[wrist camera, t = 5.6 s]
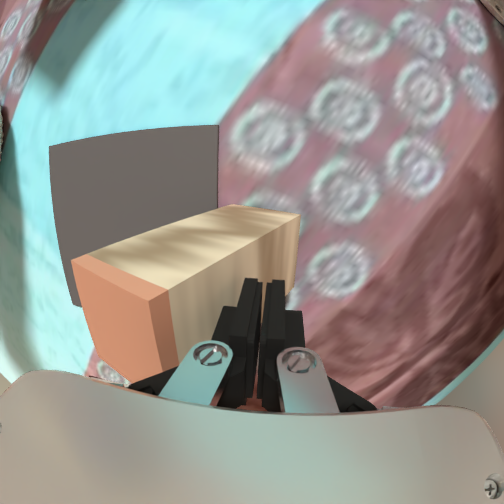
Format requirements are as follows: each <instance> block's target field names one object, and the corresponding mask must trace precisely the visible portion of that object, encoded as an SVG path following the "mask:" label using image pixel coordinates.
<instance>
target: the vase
mask: <svg viewBox="0 0 504 504" xmlns="http://www.w3.org/2000/svg"><path fill="white" fill-rule="evenodd" d="M2 121H3V117H2V115H1V106H0V155H1V153H2V151H1V146H2V143H3V139H2V138H3V136H4V134H3V131H2V128H3V123H2ZM0 161H1V156H0Z"/></svg>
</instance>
